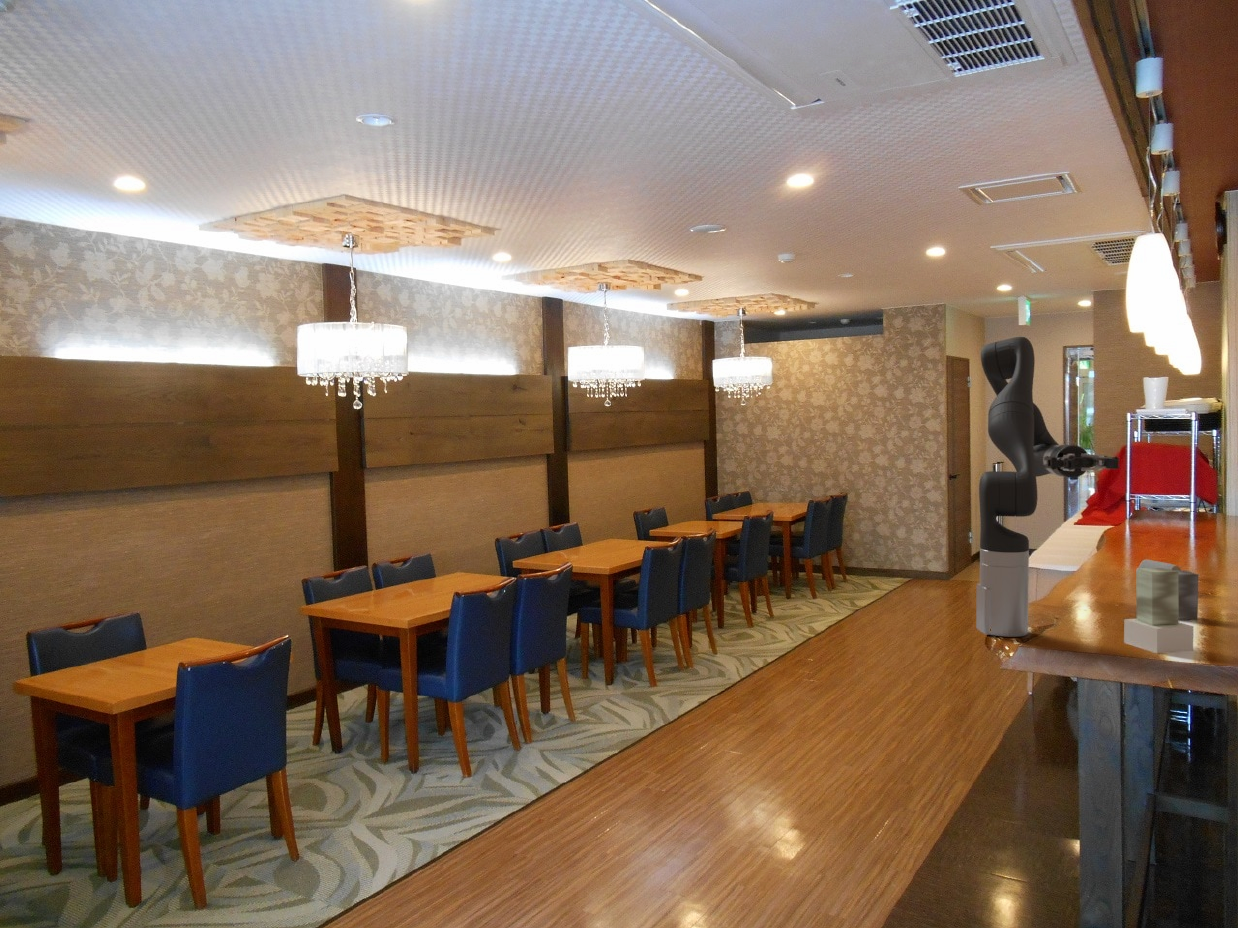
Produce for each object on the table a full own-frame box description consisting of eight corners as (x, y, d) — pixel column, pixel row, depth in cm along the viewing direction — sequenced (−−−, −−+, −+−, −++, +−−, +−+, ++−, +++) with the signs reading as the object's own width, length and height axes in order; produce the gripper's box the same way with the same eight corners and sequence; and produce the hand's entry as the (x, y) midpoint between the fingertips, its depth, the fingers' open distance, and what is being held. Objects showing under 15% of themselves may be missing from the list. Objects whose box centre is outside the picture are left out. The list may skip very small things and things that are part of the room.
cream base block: (1156, 654, 165) (1157, 628, 164) (1124, 644, 173) (1124, 618, 172) (1192, 651, 166) (1193, 625, 166) (1158, 641, 174) (1159, 616, 174)
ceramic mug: (1171, 595, 217) (1172, 564, 217) (1136, 590, 224) (1137, 560, 223) (1188, 590, 224) (1189, 560, 223) (1153, 586, 230) (1154, 556, 230)
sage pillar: (1152, 624, 167) (1152, 572, 166) (1136, 619, 172) (1136, 568, 171) (1178, 624, 167) (1178, 571, 166) (1162, 618, 172) (1161, 567, 171)
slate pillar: (1173, 619, 191) (1173, 574, 191) (1161, 614, 196) (1162, 570, 196) (1197, 620, 191) (1198, 574, 190) (1185, 615, 196) (1186, 570, 195)
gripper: (1033, 444, 206) (1059, 447, 190) (1097, 444, 205) (1129, 446, 189) (1033, 476, 207) (1059, 481, 191) (1097, 476, 205) (1129, 481, 189)
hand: (1094, 464), depth 190 cm, fingers open, 8 cm apart
